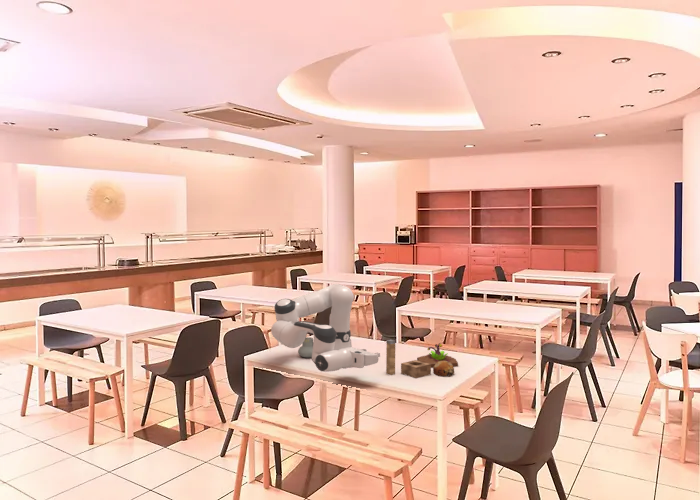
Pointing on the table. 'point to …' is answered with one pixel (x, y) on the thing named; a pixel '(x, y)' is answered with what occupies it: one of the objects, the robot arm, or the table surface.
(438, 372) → the bread roll
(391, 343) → the upright wooden post
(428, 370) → the square wooden socket base
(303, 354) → the air freshener
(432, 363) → the plant
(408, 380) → the table surface
